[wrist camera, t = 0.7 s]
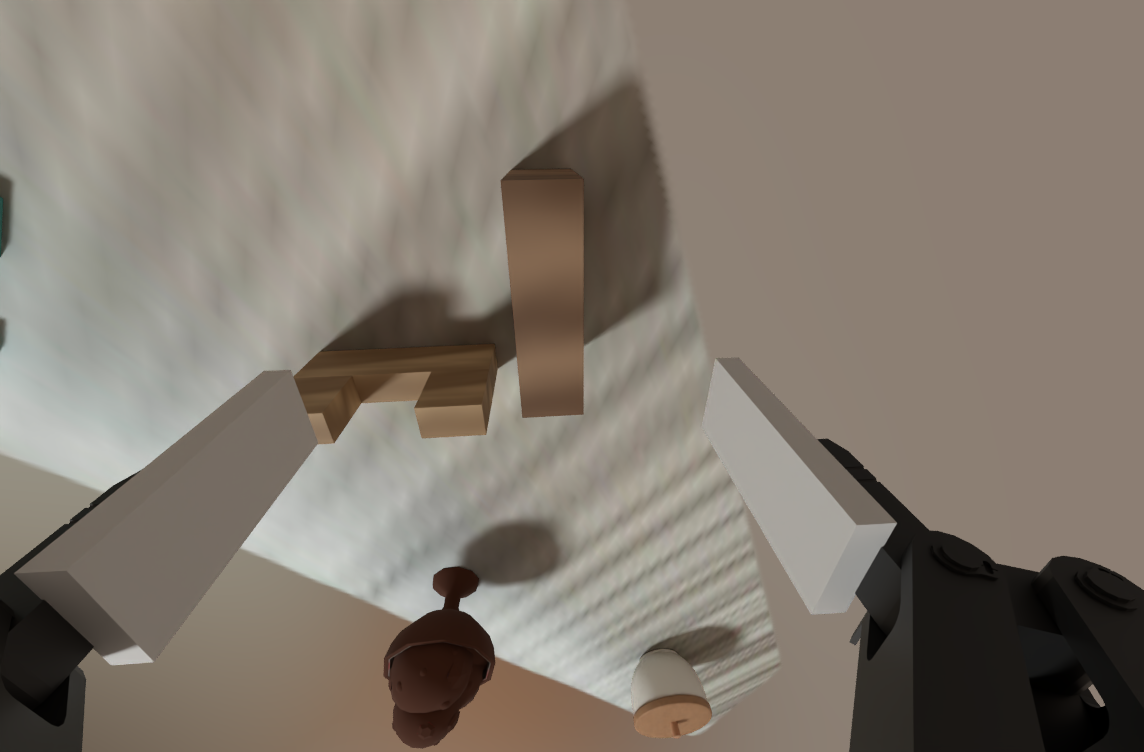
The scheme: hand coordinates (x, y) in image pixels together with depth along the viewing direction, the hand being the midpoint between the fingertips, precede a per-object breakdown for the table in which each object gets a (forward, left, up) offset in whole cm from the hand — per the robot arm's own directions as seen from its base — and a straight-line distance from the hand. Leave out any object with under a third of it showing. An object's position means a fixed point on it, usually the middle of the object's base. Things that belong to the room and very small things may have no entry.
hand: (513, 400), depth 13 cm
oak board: (+8, -10, -20) cm, 24 cm away
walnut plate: (+1, +1, -20) cm, 20 cm away
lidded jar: (+61, +16, -20) cm, 66 cm away
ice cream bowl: (+38, -11, -20) cm, 45 cm away
